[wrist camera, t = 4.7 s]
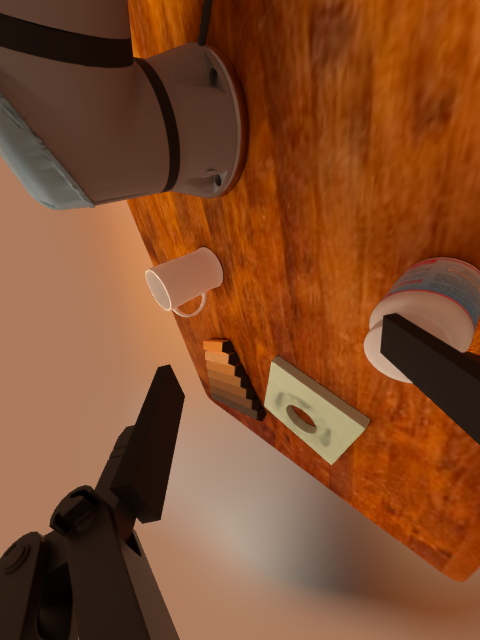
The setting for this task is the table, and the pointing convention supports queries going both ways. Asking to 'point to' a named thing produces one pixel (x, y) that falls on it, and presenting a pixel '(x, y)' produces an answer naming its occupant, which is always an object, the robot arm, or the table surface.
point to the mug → (185, 279)
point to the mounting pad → (312, 411)
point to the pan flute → (230, 379)
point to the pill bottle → (429, 307)
